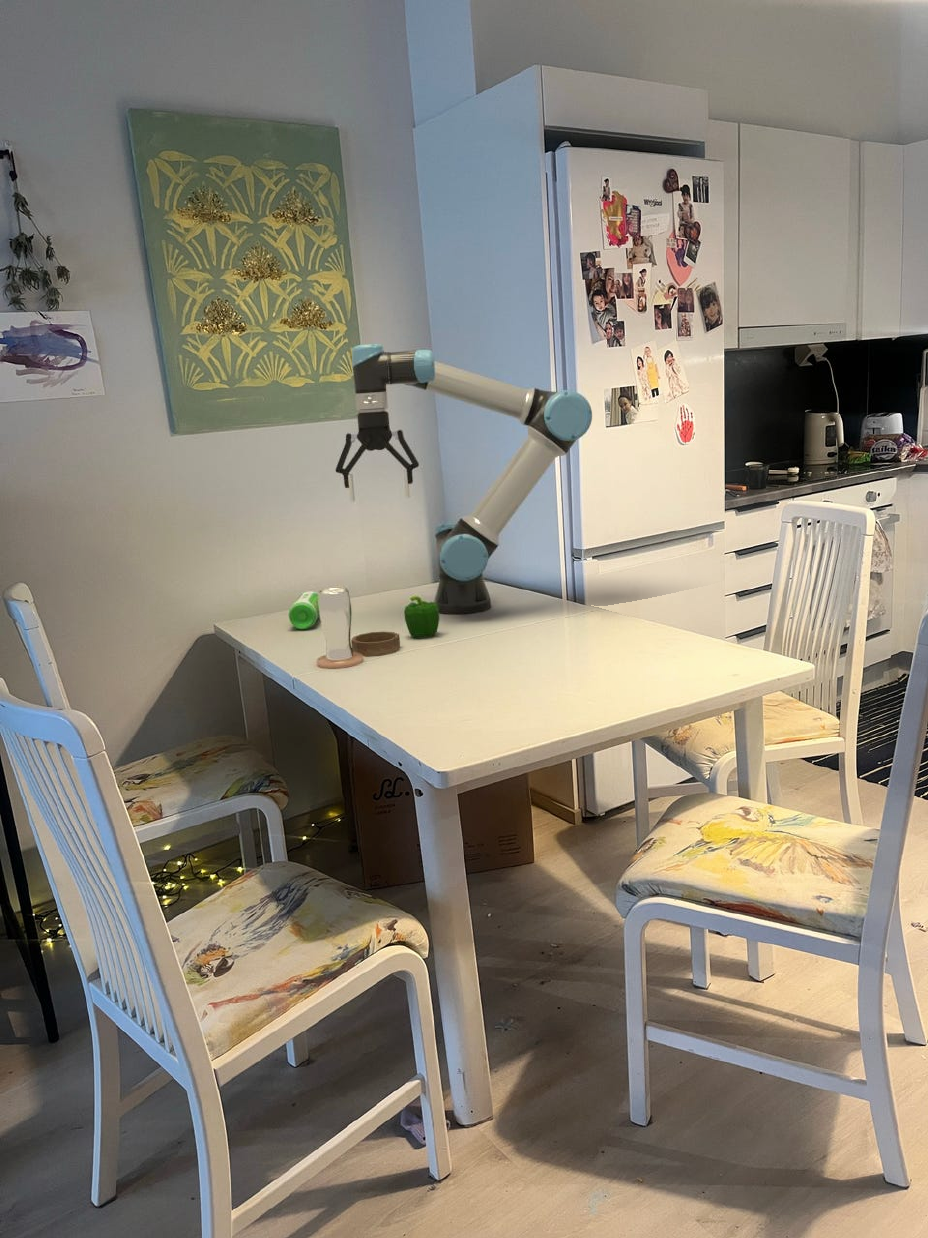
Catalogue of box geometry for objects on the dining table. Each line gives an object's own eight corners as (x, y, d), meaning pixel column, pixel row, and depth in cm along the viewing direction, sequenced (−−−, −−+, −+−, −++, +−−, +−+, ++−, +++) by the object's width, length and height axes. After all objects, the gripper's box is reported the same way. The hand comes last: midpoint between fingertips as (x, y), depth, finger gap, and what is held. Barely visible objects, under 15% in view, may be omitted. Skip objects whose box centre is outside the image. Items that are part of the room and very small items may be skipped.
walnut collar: (401, 642, 223) (400, 630, 222) (397, 654, 212) (396, 641, 212) (356, 645, 223) (355, 633, 223) (350, 657, 213) (348, 644, 212)
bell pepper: (435, 630, 233) (432, 590, 231) (444, 637, 226) (441, 595, 223) (401, 634, 231) (398, 594, 229) (410, 642, 223) (407, 600, 221)
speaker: (317, 630, 242) (314, 601, 241) (289, 632, 242) (285, 603, 241) (326, 615, 260) (323, 588, 258) (299, 617, 260) (296, 590, 258)
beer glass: (362, 656, 209) (356, 588, 206) (337, 663, 204) (330, 594, 201) (341, 652, 214) (335, 586, 211) (317, 659, 209) (310, 592, 206)
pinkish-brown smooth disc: (365, 655, 214) (365, 650, 214) (360, 667, 204) (359, 662, 204) (321, 657, 214) (320, 653, 214) (313, 669, 205) (313, 665, 204)
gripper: (318, 414, 227) (327, 504, 232) (423, 407, 227) (429, 497, 231) (323, 414, 235) (332, 501, 239) (425, 407, 234) (431, 494, 239)
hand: (380, 499), depth 235 cm, fingers open, 13 cm apart
